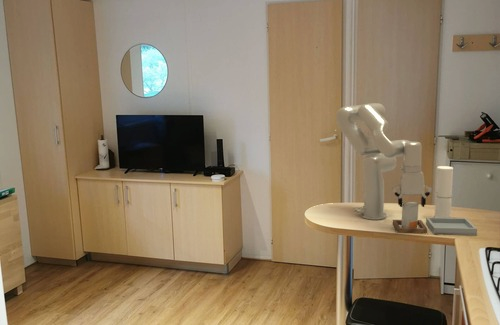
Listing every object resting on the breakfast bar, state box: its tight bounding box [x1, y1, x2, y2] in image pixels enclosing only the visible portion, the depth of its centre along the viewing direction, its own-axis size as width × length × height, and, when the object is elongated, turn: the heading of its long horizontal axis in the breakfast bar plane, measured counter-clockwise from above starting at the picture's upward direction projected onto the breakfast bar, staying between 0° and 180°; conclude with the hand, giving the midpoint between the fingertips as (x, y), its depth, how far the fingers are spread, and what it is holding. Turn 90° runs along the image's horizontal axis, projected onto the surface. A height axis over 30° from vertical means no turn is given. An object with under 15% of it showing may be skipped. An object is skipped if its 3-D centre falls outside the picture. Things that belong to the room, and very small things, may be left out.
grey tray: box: [425, 217, 478, 236], centre depth 217 cm, size 18×15×3 cm
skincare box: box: [400, 201, 419, 228], centre depth 218 cm, size 6×4×12 cm
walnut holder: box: [392, 219, 429, 234], centre depth 219 cm, size 13×13×2 cm
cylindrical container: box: [434, 165, 454, 218], centre depth 231 cm, size 7×7×25 cm
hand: (411, 206), depth 216 cm, fingers open, 9 cm apart
